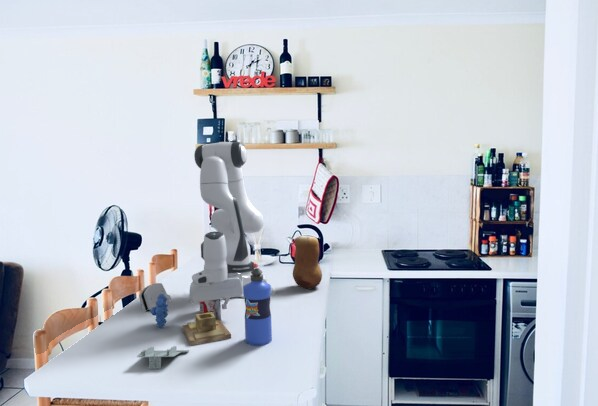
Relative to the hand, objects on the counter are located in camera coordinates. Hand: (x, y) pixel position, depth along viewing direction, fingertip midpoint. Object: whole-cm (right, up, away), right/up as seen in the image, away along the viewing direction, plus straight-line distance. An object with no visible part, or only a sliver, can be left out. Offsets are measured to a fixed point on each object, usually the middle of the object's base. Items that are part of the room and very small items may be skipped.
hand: (217, 310), depth 177 cm
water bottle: (+18, -6, -19) cm, 27 cm away
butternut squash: (+35, +1, +42) cm, 55 cm away
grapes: (-21, -5, -4) cm, 22 cm away
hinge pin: (0, -4, 0) cm, 4 cm away
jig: (-2, -6, -12) cm, 14 cm away
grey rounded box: (-30, -3, +20) cm, 37 cm away
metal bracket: (-12, -9, -32) cm, 36 cm away
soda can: (-5, -3, +10) cm, 12 cm away
